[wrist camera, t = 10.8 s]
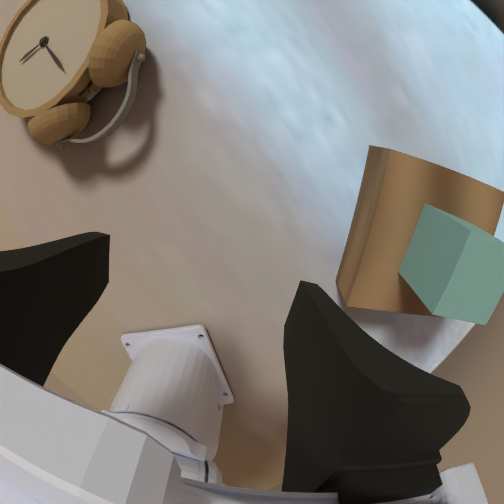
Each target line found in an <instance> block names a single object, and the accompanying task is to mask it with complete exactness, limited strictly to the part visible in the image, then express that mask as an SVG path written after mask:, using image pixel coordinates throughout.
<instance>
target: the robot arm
mask: <svg viewBox="0 0 504 504" xmlns="http://www.w3.org/2000/svg"><path fill="white" fill-rule="evenodd" d="M109 245H110V235H108V234H104V233H100V232H88V233H83V234H79V235H75V236H71V237H67V238H63V239H60V240H56V241H52V242H48V243H44V244H39V245H35V246H31V247H26V248H21V249H15V250H8V251H0V504H488V502H487V499H486V496H485V493H484V491H483V488H482V485H481V482H480V480H479V477H478V474H477V472H476V469H475V467H474V464H473V463H467V464H463V465H459V466H454V467H450V468H447V469H445V470H442V471H441V472H439V471H438V468H437V465H436V464H438V463H439V462H440V461H441V459H442V458H441V455H440V452H439V450H440V449H441V448H442V447H443V446H444V445H445V444H446V443H447V442H448V441H449V440H450V439H451V438H452V437H453V436H454V435H455V434H456V433H457V432H458V431H459V430H460V429H461V427H462V426H463V425H464V423H465V422H466V420H467V418H468V416H469V413H470V408H471V407H470V404H469V402H468V400H467V398H466V396H465V394H464V392H463V390H462V389H461V387H460V386H459V385H456V384H454V383H451V382H449V381H446V380H444V379H441V378H439V377H436V376H434V375H431V374H429V373H427V372H425V371H423V370H421V369H419V368H417V367H415V366H414V365H412V364H410V363H408V362H406V361H405V360H403V359H402V358H400V357H398V356H397V355H395V354H394V353H392V352H391V351H389V350H388V349H386V348H385V347H383V346H382V345H381V344H379V343H378V342H377V341H376V340H374V339H373V338H372V337H370V336H369V335H368V334H367V333H366V332H364V331H363V330H362V329H361V328H360V327H359V326H358V325H357V324H356V323H355V322H354V321H353V320H352V319H351V318H350V317H348V316H347V315H346V313H345V312H344V311H343V310H342V309H341V308H340V307H339V306H338V305H337V304H336V303H335V302H334V301H333V300H332V299H331V298H330V297H329V296H328V294H327V293H326V292H325V291H324V290H323V289H322V288H321V287H320V286H318V285H317V284H314V283H310V282H305V281H301V280H300V283H299V286H298V289H297V292H296V295H295V298H294V300H293V303H292V306H291V309H290V311H289V314H288V317H287V320H286V322H285V325H284V345H283V349H284V360H285V370H286V380H287V390H288V432H287V447H286V458H285V468H284V477H283V485H282V491H281V492H279V491H267V490H256V489H247V488H239V487H232V486H226V485H222V474H221V472H220V470H219V469H218V467H217V465H216V463H215V462H214V461H212V460H213V459H214V457H215V455H216V453H217V450H218V444H219V437H220V430H221V422H222V415H223V408H224V404H231V403H233V402H234V397H233V394H232V392H231V390H230V387H229V385H228V383H227V380H226V378H225V375H224V373H223V371H222V368H221V366H220V363H219V361H218V358H217V356H216V353H215V351H214V348H213V346H212V343H211V341H210V338H209V336H208V333H207V330H206V328H205V327H204V326H203V325H192V326H185V327H178V328H170V329H163V330H155V331H147V332H138V333H129V334H123V335H122V337H121V341H122V343H123V345H124V347H125V349H126V351H127V352H128V354H129V356H130V358H131V360H132V363H131V365H130V367H129V369H128V371H127V373H126V376H125V378H124V380H123V382H122V384H121V386H120V388H119V390H118V392H117V394H116V396H115V398H114V400H113V403H112V405H111V407H110V409H109V411H106V410H102V411H101V412H100V411H97V410H95V409H92V408H90V407H87V406H85V405H82V404H80V403H77V402H75V401H73V400H71V399H68V398H66V397H64V396H62V395H59V394H57V393H55V392H53V391H51V390H49V389H47V388H45V387H43V386H44V383H45V381H46V379H47V377H48V375H49V373H50V371H51V369H52V367H53V365H54V363H55V361H56V359H57V357H58V355H59V353H60V352H61V350H62V348H63V346H64V345H65V343H66V342H67V340H68V339H69V337H70V336H71V335H72V334H73V332H74V331H75V330H76V328H77V327H78V326H79V324H80V323H81V322H82V321H83V319H84V318H85V317H86V316H87V314H88V313H89V312H90V310H91V309H92V308H93V307H94V305H95V304H96V303H97V301H98V300H99V298H100V296H101V295H102V293H103V291H104V290H105V288H106V286H107V284H108V282H109ZM200 335H203V336H204V337H201V336H200ZM128 343H129V344H130V345H129V344H128Z"/></svg>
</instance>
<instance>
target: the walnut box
mask: <svg viewBox="0 0 504 504" xmlns="http://www.w3.org/2000/svg"><path fill="white" fill-rule="evenodd" d="M503 203H504V192H503V191H501V190H499V189H496V188H494V187H492V186H490V185H487V184H485V183H483V182H480V181H478V180H476V179H473V178H471V177H468V176H466V175H463V174H461V173H458V172H456V171H453V170H450V169H448V168H445V167H442V166H439V165H437V164H434V163H431V162H428V161H425V160H422V159H419V158H416V157H413V156H410V155H407V154H404V153H401V152H398V151H395V150H391V149H387V148H382V147H376V146H371V145H370V146H369V151H368V155H367V160H366V165H365V170H364V174H363V179H362V183H361V187H360V192H359V196H358V200H357V204H356V208H355V212H354V216H353V220H352V224H351V228H350V232H349V235H348V239H347V243H346V246H345V250H344V254H343V257H342V261H341V264H340V268H339V271H338V274H337V278H336V282H337V285H338V287H339V289H340V292H341V294H342V297H343V299H344V301H345V304H346V306H348V307H356V308H364V309H373V310H381V311H390V312H399V313H408V314H418V315H428V316H437V315H432V313H431V312H430V311H429V309H428V308H427V307H426V306H425V304H424V303H423V302H422V300H421V299H420V298H419V297H418V295H417V294H416V293H415V292H414V290H413V289H412V288H411V287H410V285H409V284H408V283H407V282H406V281H405V279H404V278H403V277H402V276H401V274H400V273H399V272H398V270H399V268H400V266H401V263H402V261H403V259H404V256H405V254H406V252H407V249H408V247H409V244H410V242H411V239H412V237H413V234H414V231H415V229H416V226H417V224H418V221H419V218H420V215H421V213H422V210H423V207H424V204H428V205H430V206H433V207H435V208H438V209H440V210H442V211H445V212H447V213H449V214H452V215H454V216H456V217H458V218H461V219H463V220H465V221H467V222H470V223H472V224H474V225H476V226H477V227H479V228H481V229H482V230H484V231H486V232H487V233H489V234H491V235H492V236H494V234H495V231H496V227H497V224H498V221H499V217H500V214H501V210H502V207H503ZM439 317H442V316H439Z"/></svg>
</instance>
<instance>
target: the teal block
mask: <svg viewBox="0 0 504 504" xmlns="http://www.w3.org/2000/svg"><path fill="white" fill-rule="evenodd" d="M398 272H399V273H400V274H401V276H402V277H403V278H404V279H405V281H406V282H407V283H408V284H409V285H410V287H411V288H412V289H413V290H414V292H415V293H416V294H417V295H418V297H419V298H420V299H421V300H422V302H423V303H424V304H425V306H426V307H427V308H428V309H429V311H430V312H431V313H432V315H437V316H442V317H447V318H452V319H457V320H462V321H467V322H472V323H478V324H483V325H486V323H487V321H488V320H489V318H490V316H491V314H492V312H493V311H494V309H495V307H496V305H497V303H498V301H499V299H500V297H501V295H502V293H503V291H504V243H503V242H502V241H500V240H499V239H497V238H496V237H494V236H492V235H491V234H489V233H487V232H486V231H484V230H482V229H481V228H479V227H477V226H476V225H474V224H472V223H470V222H467V221H465V220H463V219H461V218H458V217H456V216H454V215H452V214H449V213H447V212H445V211H442V210H440V209H438V208H435V207H433V206H430V205H428V204H424V207H423V210H422V213H421V215H420V218H419V221H418V224H417V226H416V229H415V231H414V234H413V237H412V239H411V242H410V244H409V247H408V249H407V252H406V254H405V256H404V259H403V261H402V263H401V266H400V268H399V270H398Z"/></svg>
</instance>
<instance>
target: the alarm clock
mask: <svg viewBox="0 0 504 504" xmlns="http://www.w3.org/2000/svg"><path fill="white" fill-rule="evenodd" d="M145 51H146V40H145V35H144V33H143V31H142V30H141V28H140V27H139V26H138V25H137V24H135V23H133V22H130V21H128V13H127V7H126V6H125V4H124V3H123V1H122V0H28V1H27V2H26V3H25V4H24V5H23V6H22V7H21V8H20V9H19V11H18V12H17V14H16V15H15V17H14V18H13V20H12V21H11V23H10V24H9V26H8V27H7V29H6V32H5V34H4V36H3V39H2V41H1V43H0V104H1V105H2V106H3V108H4V109H5V110H6V111H7V112H8V113H9V114H11V115H14V116H17V117H20V118H28V117H33V118H32V119H31V120H30V121H29V122H28V130H29V133H30V135H31V137H32V138H33V139H34V140H36V141H37V142H39V143H42V144H54V145H57V146H58V149H59V150H63V149H64V148H65V143H67V142H76V143H87V142H95V141H98V140H102V139H103V138H105V137H106V136H108V135H110V134H111V133H112V132H113V131H114V130H116V129H117V128H118V127H119V126H120V125H121V123H122V122H123V121H124V119H125V118H126V117H127V115H128V113H129V112H130V110H131V108H132V107H133V104H134V101H135V98H136V94H137V88H138V72H139V67H140V65H141V63H142V62H143V61H145V59H146V56H145ZM126 81H128V87H127V92H126V95H125V98H124V101H123V103H122V105H121V107H120V109H119V110H118V112H117V114H116V115H115V116H114V118H113V119H112V120H111V122H110V123H109V124H108V125H107V126H106V127H104V128H103V129H102V130H101V131H100V132H98V133H97V134H95V135H93V136H92V137H89V138H86V139H77V138H73V137H75V136H76V135H78V134H79V133H80V132H82V131H83V130H84V128H85V127H86V125H87V124H88V122H89V119H90V115H91V107H90V105H89V104H86V103H87V102H88V101H89V100H91V99H92V98H93V97H94V96H95V95H96V94H97V93H98V92H99V91H100V90H101V88H102V87H116V86H119V85H121V84H123V83H125V82H126ZM71 138H73V139H71Z"/></svg>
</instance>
